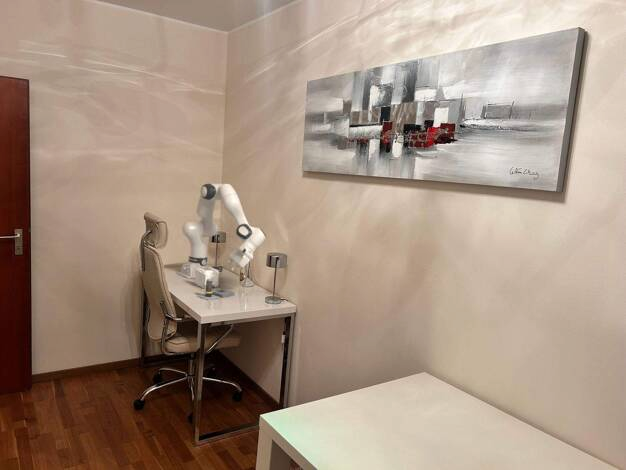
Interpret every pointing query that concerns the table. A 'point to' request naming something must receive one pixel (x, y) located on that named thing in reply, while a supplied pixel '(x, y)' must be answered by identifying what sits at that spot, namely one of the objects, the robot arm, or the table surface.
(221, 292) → the socket block
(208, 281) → the plug
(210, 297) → the mat
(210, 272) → the cable organizer
